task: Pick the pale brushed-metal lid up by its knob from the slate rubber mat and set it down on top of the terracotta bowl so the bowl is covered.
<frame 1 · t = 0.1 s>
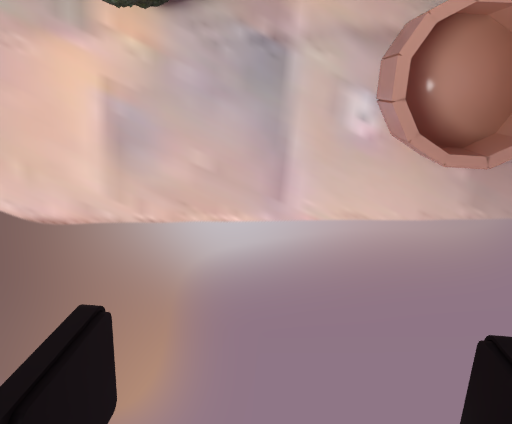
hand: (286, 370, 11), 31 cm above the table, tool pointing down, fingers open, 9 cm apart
bowl: (452, 83, 37), on the table
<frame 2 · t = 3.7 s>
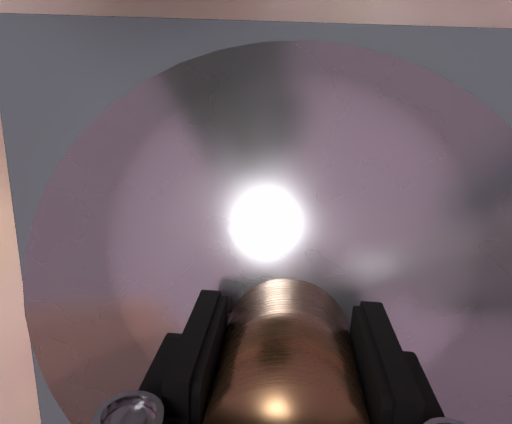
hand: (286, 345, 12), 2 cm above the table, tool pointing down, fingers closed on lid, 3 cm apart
lid: (287, 318, 13), resting on mat, touching gripper
mat: (287, 312, 13), on the table
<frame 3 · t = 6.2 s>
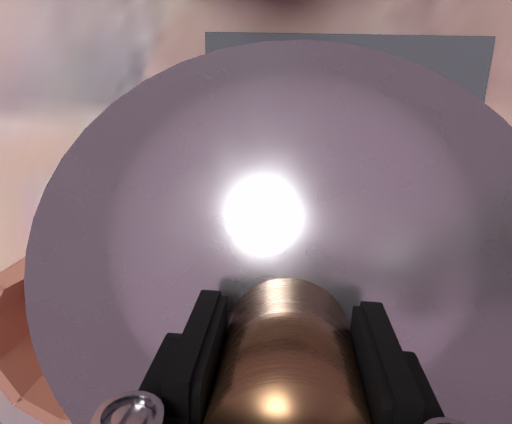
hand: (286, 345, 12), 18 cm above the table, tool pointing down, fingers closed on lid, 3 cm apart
lid: (288, 318, 13), point 16 cm above the table, touching gripper
mat: (334, 173, 28), on the table
bowl: (113, 304, 32), on the table
when the fingers open (9 cm above the table, at t = 9.0 s): lid drops 1 cm, resting on bowl.
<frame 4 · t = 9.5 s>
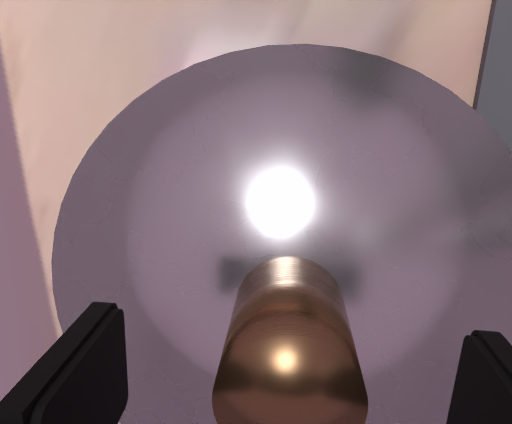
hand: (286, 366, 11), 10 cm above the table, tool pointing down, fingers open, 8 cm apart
lid: (289, 294, 15), point 6 cm above the table, touching bowl
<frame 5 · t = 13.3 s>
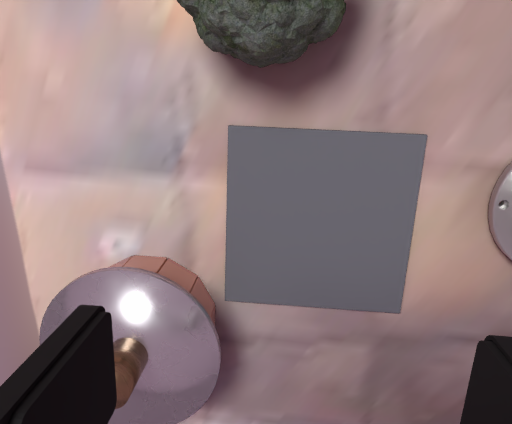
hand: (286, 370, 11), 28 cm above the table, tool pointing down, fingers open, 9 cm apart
lid: (131, 349, 37), point 6 cm above the table, touching bowl
mat: (318, 222, 39), on the table
bowl: (152, 315, 43), on the table
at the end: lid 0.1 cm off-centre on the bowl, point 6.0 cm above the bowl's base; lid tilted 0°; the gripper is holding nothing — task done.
